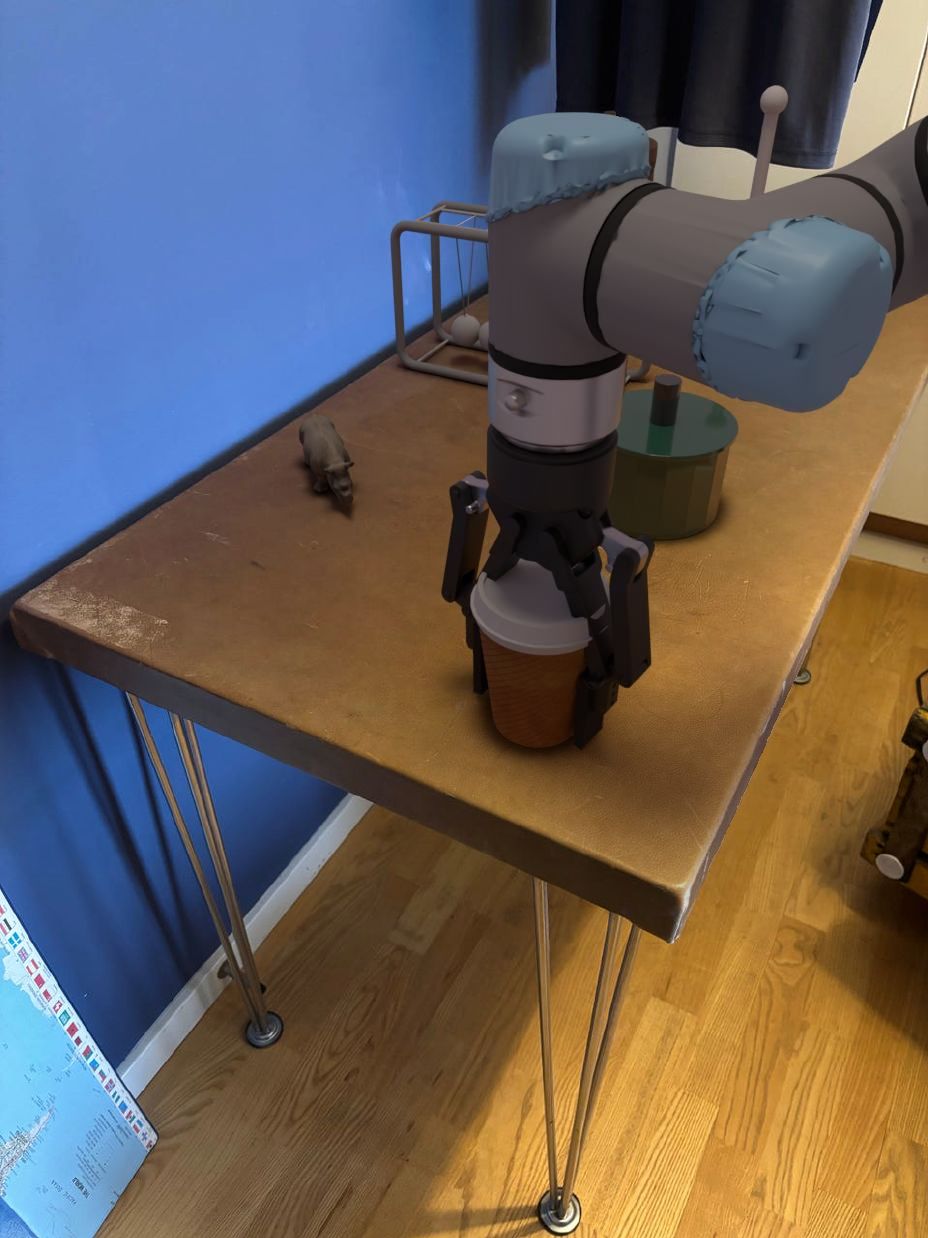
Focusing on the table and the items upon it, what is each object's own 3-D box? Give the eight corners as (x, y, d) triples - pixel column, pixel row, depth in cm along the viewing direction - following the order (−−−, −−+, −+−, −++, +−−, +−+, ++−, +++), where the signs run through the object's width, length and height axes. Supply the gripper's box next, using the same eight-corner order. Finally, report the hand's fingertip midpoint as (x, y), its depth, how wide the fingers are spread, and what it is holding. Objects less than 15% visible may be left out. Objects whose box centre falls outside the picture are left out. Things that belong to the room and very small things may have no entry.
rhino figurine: (329, 526, 87) (322, 471, 83) (297, 460, 97) (289, 408, 93) (370, 518, 88) (366, 462, 84) (334, 453, 98) (329, 401, 94)
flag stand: (788, 371, 113) (851, 96, 94) (682, 367, 114) (722, 95, 96) (773, 331, 123) (826, 76, 104) (675, 328, 125) (710, 75, 106)
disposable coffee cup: (457, 752, 64) (454, 620, 56) (486, 664, 71) (487, 536, 64) (592, 776, 62) (608, 642, 55) (608, 683, 69) (624, 554, 62)
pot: (738, 498, 90) (755, 419, 85) (677, 556, 82) (691, 473, 77) (628, 460, 96) (637, 384, 91) (561, 510, 89) (566, 431, 83)
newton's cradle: (650, 381, 111) (669, 229, 100) (620, 415, 104) (637, 255, 93) (436, 338, 122) (432, 197, 111) (395, 367, 115) (387, 219, 104)
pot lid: (761, 425, 85) (772, 373, 82) (692, 483, 77) (702, 429, 74) (634, 387, 92) (640, 337, 89) (558, 437, 84) (562, 385, 80)
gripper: (373, 397, 55) (394, 677, 69) (686, 512, 44) (635, 812, 59) (452, 357, 59) (456, 627, 74) (753, 453, 49) (690, 745, 63)
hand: (536, 709), depth 66 cm, fingers closed on disposable coffee cup, 8 cm apart
